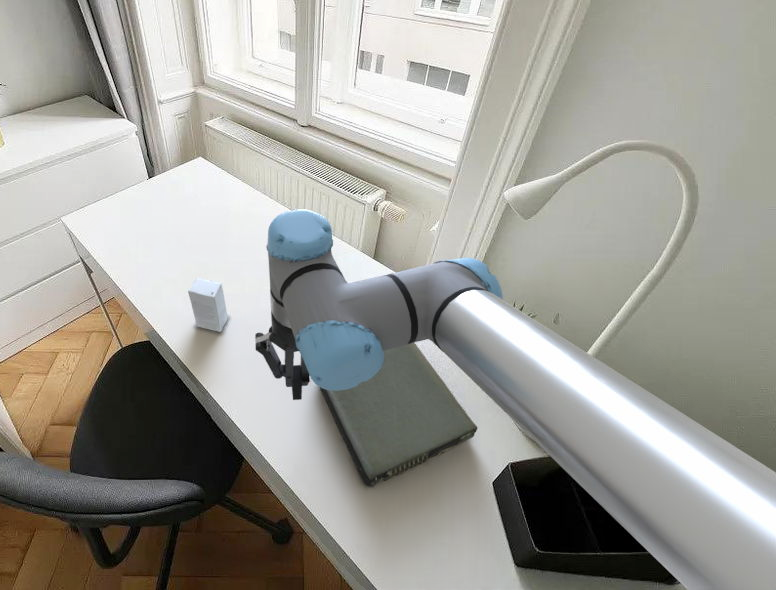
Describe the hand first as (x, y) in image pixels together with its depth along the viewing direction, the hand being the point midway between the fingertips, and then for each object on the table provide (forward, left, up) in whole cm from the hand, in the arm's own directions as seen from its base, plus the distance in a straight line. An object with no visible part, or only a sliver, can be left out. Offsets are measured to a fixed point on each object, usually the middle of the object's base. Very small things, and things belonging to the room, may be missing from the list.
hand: (296, 392), depth 71 cm
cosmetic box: (+21, +17, -8) cm, 28 cm away
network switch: (0, -17, -8) cm, 18 cm away
